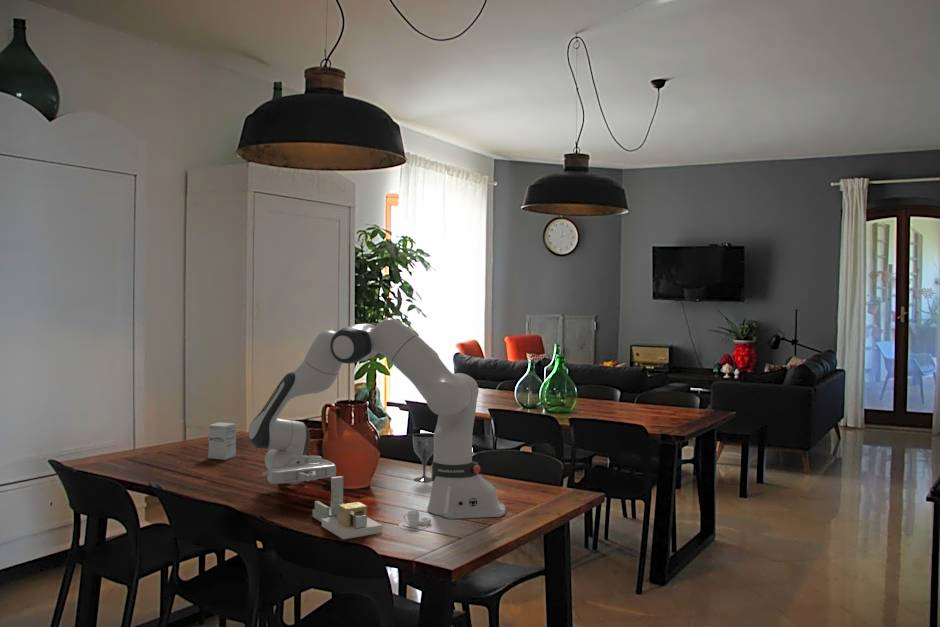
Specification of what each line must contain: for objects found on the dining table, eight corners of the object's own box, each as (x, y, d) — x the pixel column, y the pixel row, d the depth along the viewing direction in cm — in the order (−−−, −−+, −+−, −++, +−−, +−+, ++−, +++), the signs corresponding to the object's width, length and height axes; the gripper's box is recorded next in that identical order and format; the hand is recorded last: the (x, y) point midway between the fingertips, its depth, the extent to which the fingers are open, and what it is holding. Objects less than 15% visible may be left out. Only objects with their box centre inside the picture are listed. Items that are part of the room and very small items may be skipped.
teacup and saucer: (431, 522, 218) (431, 508, 218) (431, 531, 210) (431, 516, 210) (399, 522, 218) (399, 508, 218) (397, 531, 210) (397, 516, 210)
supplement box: (207, 458, 295) (207, 424, 295) (219, 455, 302) (219, 421, 302) (225, 460, 293) (225, 426, 293) (236, 456, 300) (236, 423, 300)
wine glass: (408, 481, 264) (409, 436, 264) (417, 476, 272) (417, 432, 272) (431, 483, 262) (431, 437, 262) (439, 478, 270) (439, 433, 269)
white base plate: (321, 526, 213) (321, 518, 213) (358, 519, 219) (358, 512, 219) (343, 539, 201) (343, 531, 201) (382, 532, 208) (382, 524, 208)
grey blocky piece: (312, 516, 221) (312, 501, 221) (335, 513, 225) (335, 498, 225) (323, 523, 215) (323, 507, 215) (347, 519, 219) (347, 504, 219)
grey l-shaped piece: (330, 514, 216) (331, 477, 216) (341, 512, 218) (341, 476, 217) (355, 528, 203) (356, 489, 203) (366, 526, 205) (366, 487, 205)
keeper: (338, 522, 209) (338, 504, 209) (358, 519, 212) (358, 501, 212) (346, 527, 205) (346, 509, 205) (366, 524, 208) (367, 506, 208)
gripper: (260, 461, 235) (277, 471, 224) (324, 455, 247) (344, 463, 236) (260, 483, 236) (277, 493, 224) (324, 475, 247) (343, 484, 236)
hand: (312, 478), depth 230 cm, fingers closed
